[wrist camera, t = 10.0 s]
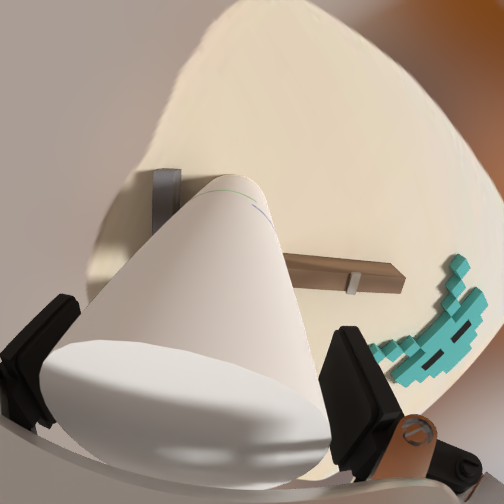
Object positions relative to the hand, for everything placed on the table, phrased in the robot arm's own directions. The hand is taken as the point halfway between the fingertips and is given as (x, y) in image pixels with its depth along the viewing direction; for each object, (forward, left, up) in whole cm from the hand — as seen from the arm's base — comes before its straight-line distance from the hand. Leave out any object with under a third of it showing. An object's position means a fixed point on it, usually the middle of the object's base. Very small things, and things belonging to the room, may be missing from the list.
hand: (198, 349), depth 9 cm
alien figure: (-15, -34, -22) cm, 43 cm away
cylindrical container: (0, 0, -21) cm, 21 cm away
